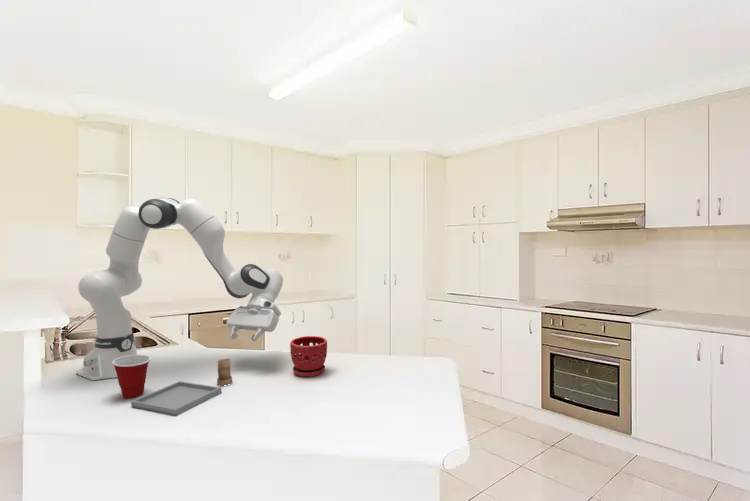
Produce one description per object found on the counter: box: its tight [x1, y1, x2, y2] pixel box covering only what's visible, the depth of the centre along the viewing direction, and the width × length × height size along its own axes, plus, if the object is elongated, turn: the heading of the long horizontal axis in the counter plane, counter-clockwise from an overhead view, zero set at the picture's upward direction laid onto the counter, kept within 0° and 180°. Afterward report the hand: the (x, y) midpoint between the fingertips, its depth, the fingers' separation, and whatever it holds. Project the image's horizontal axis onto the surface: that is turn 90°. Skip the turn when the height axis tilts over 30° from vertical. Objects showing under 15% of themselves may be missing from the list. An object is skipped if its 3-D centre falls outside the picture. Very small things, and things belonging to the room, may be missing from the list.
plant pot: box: [289, 335, 328, 378], centre depth 156 cm, size 13×13×12 cm
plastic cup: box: [112, 354, 152, 400], centre depth 139 cm, size 11×11×12 cm
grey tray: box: [130, 380, 222, 417], centre depth 134 cm, size 18×18×2 cm
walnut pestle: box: [216, 358, 233, 387], centre depth 147 cm, size 5×5×8 cm
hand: (243, 339), depth 156 cm, fingers open, 8 cm apart
